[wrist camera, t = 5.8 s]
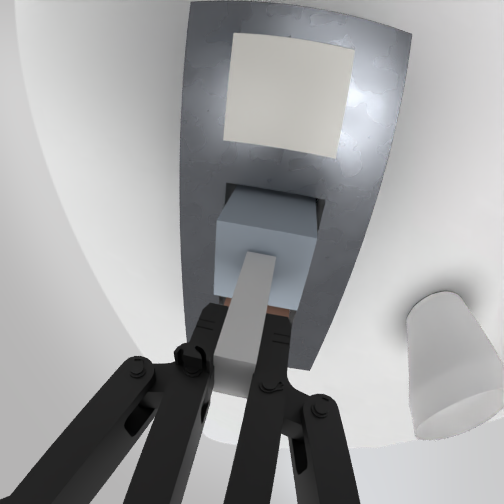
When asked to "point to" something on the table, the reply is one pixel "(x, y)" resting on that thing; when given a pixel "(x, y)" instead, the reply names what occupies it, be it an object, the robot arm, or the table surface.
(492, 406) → the cup
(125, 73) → the table surface
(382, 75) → the panel
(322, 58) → the ivory key
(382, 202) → the table surface
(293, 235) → the slate key
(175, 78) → the table surface
